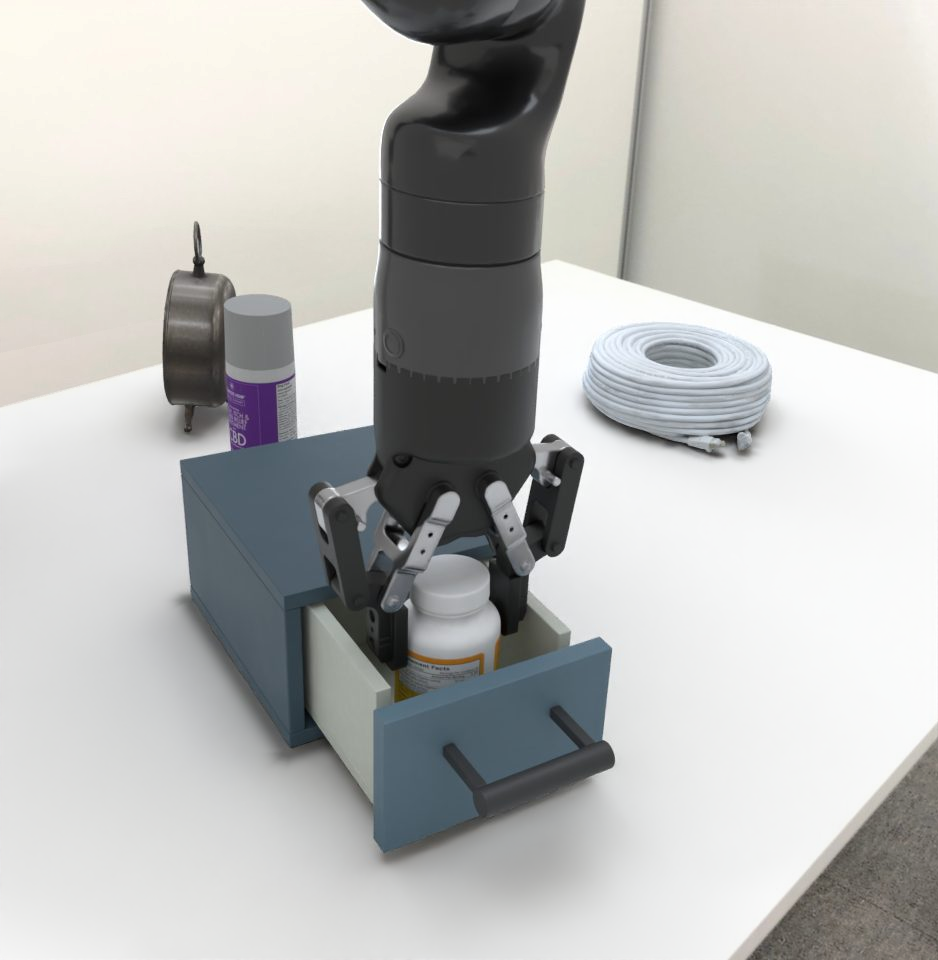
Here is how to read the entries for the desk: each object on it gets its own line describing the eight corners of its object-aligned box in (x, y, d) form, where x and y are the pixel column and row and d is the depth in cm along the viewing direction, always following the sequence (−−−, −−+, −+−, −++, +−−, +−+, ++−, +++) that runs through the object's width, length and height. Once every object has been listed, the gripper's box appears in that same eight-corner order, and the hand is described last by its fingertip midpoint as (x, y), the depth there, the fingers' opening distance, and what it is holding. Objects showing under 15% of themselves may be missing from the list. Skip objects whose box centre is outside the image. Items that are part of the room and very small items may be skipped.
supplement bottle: (438, 683, 68) (442, 535, 63) (515, 720, 65) (525, 570, 61) (372, 731, 63) (372, 577, 59) (452, 774, 61) (458, 616, 57)
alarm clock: (185, 385, 104) (170, 202, 97) (249, 386, 106) (240, 205, 98) (164, 439, 95) (146, 241, 88) (235, 440, 96) (223, 244, 89)
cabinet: (510, 675, 72) (519, 536, 68) (290, 748, 65) (283, 596, 60) (389, 547, 84) (390, 421, 80) (190, 596, 76) (179, 459, 72)
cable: (748, 464, 102) (758, 399, 99) (554, 424, 105) (559, 360, 102) (780, 392, 117) (789, 334, 114) (610, 359, 120) (615, 301, 118)
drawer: (651, 822, 61) (668, 698, 57) (428, 920, 54) (432, 787, 50) (461, 622, 75) (465, 512, 72) (265, 679, 68) (259, 561, 65)
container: (221, 504, 87) (207, 308, 80) (254, 477, 91) (244, 289, 84) (279, 517, 86) (271, 320, 79) (310, 489, 90) (305, 300, 83)
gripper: (548, 296, 61) (529, 576, 68) (272, 331, 53) (285, 644, 60) (633, 347, 56) (602, 643, 63) (341, 394, 48) (346, 728, 55)
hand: (447, 642), depth 62 cm, fingers open, 5 cm apart
